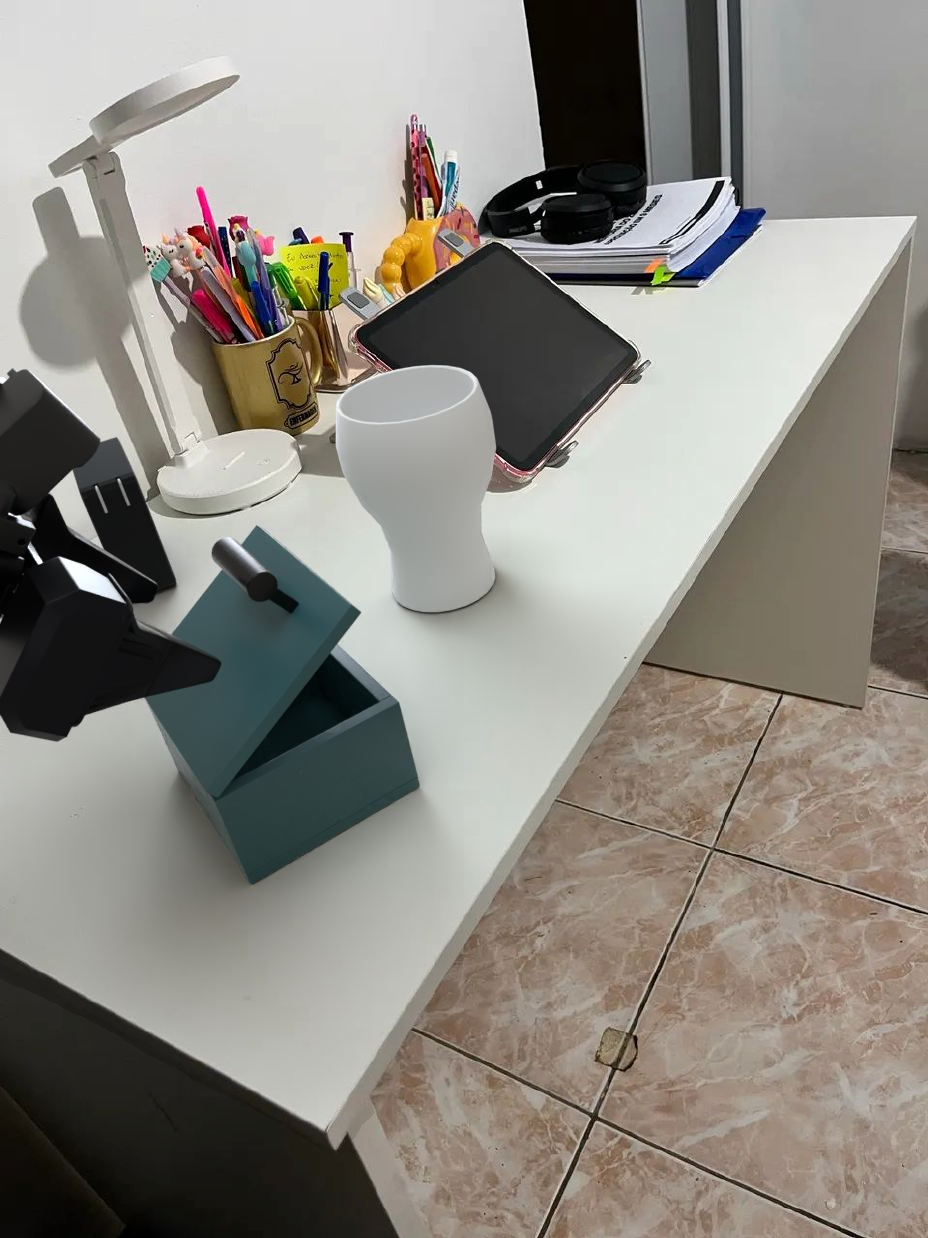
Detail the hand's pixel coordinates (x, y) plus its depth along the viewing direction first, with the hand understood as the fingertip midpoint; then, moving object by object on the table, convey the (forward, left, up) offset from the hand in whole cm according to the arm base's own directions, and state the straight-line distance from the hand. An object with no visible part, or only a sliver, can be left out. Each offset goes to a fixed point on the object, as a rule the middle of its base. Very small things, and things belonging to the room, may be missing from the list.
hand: (183, 629), depth 48 cm
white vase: (+19, +13, -13) cm, 26 cm away
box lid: (+2, 0, -3) cm, 4 cm away
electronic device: (0, +32, -13) cm, 34 cm away
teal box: (+3, 0, -12) cm, 13 cm away
